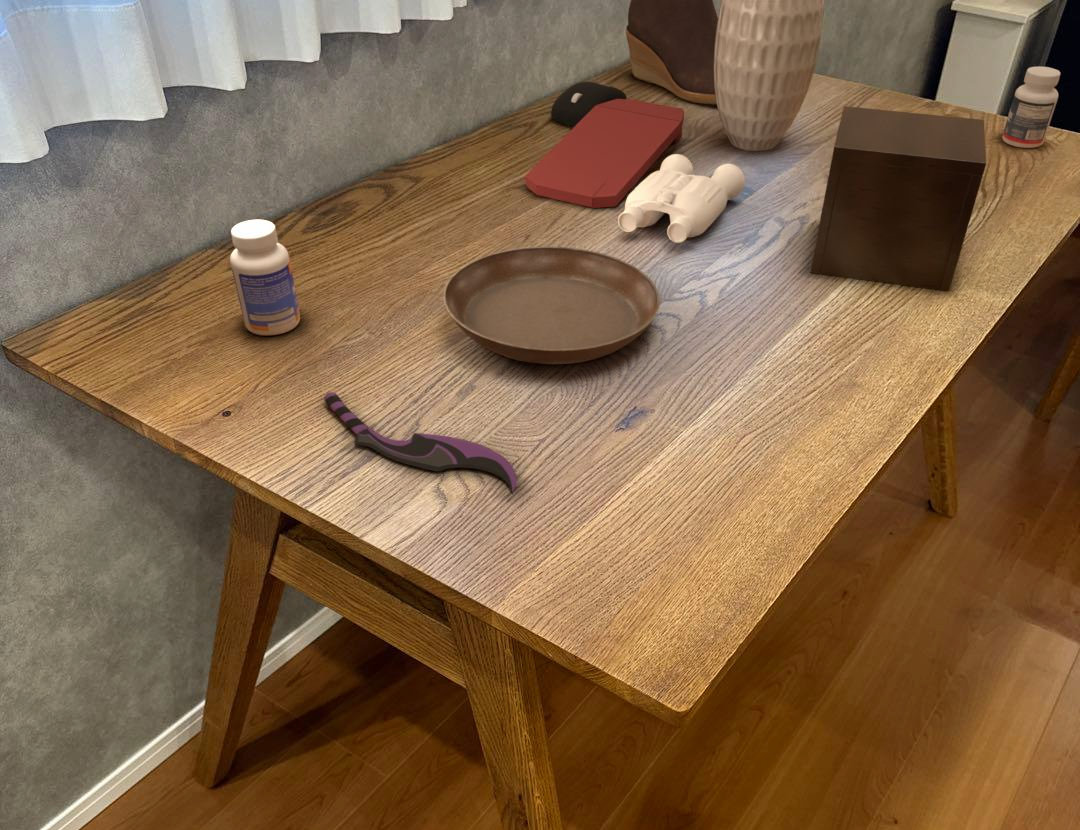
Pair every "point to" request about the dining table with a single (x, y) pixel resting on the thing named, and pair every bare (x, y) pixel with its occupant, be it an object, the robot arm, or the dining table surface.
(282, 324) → the pill bottle
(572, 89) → the computer mouse
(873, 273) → the dark wooden box
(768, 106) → the vase
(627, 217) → the binoculars
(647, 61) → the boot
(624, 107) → the carton
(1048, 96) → the pill bottle
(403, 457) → the knife
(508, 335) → the plant saucer
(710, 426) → the dining table surface
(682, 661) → the dining table surface
